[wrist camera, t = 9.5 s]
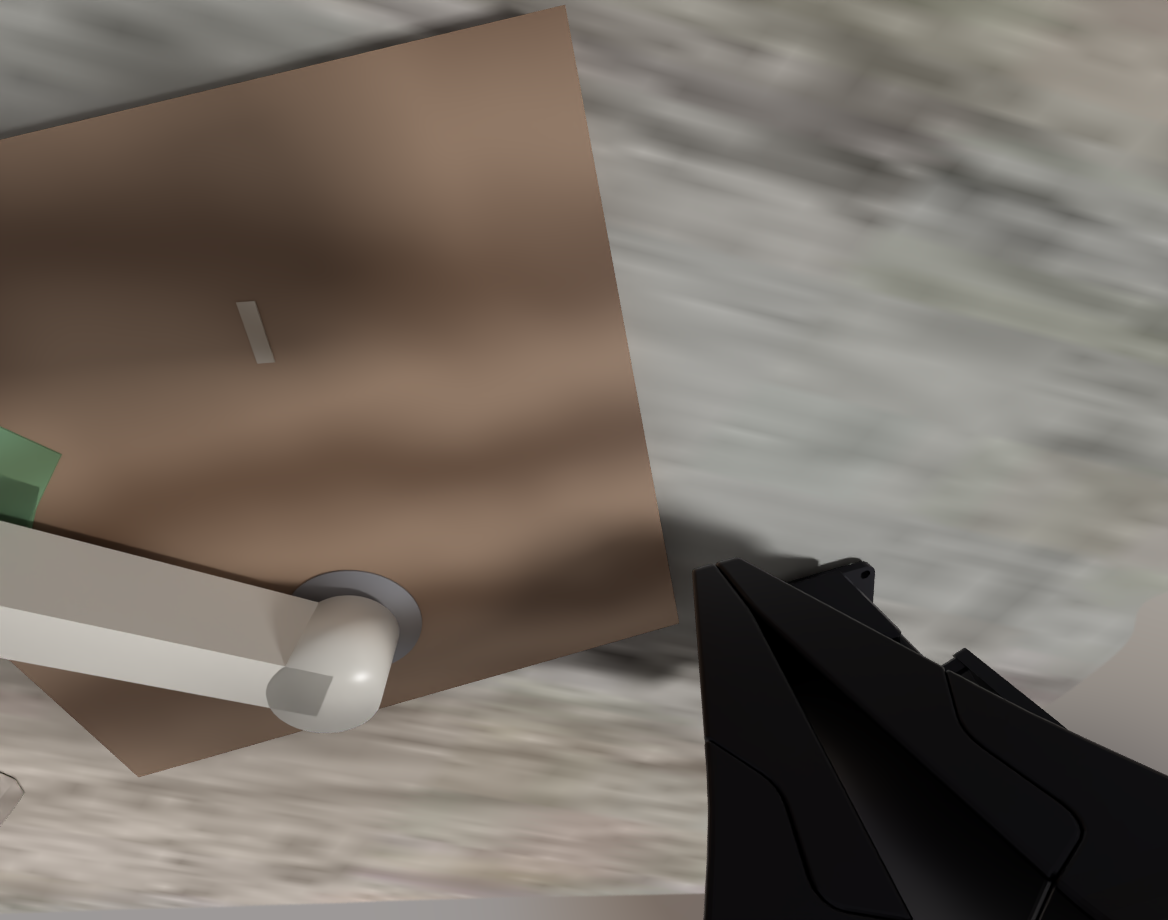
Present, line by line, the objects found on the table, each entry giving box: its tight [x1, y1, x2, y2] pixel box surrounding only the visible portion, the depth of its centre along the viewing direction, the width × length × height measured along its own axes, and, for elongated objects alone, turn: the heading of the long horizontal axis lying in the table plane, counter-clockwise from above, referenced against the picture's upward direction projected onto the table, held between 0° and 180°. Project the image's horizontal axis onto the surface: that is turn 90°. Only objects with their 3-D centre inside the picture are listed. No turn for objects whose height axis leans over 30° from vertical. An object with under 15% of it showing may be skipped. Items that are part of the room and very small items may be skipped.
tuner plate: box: [0, 5, 679, 777], centre depth 17 cm, size 22×25×2 cm
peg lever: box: [0, 521, 399, 733], centre depth 15 cm, size 16×4×3 cm, turn 63°
